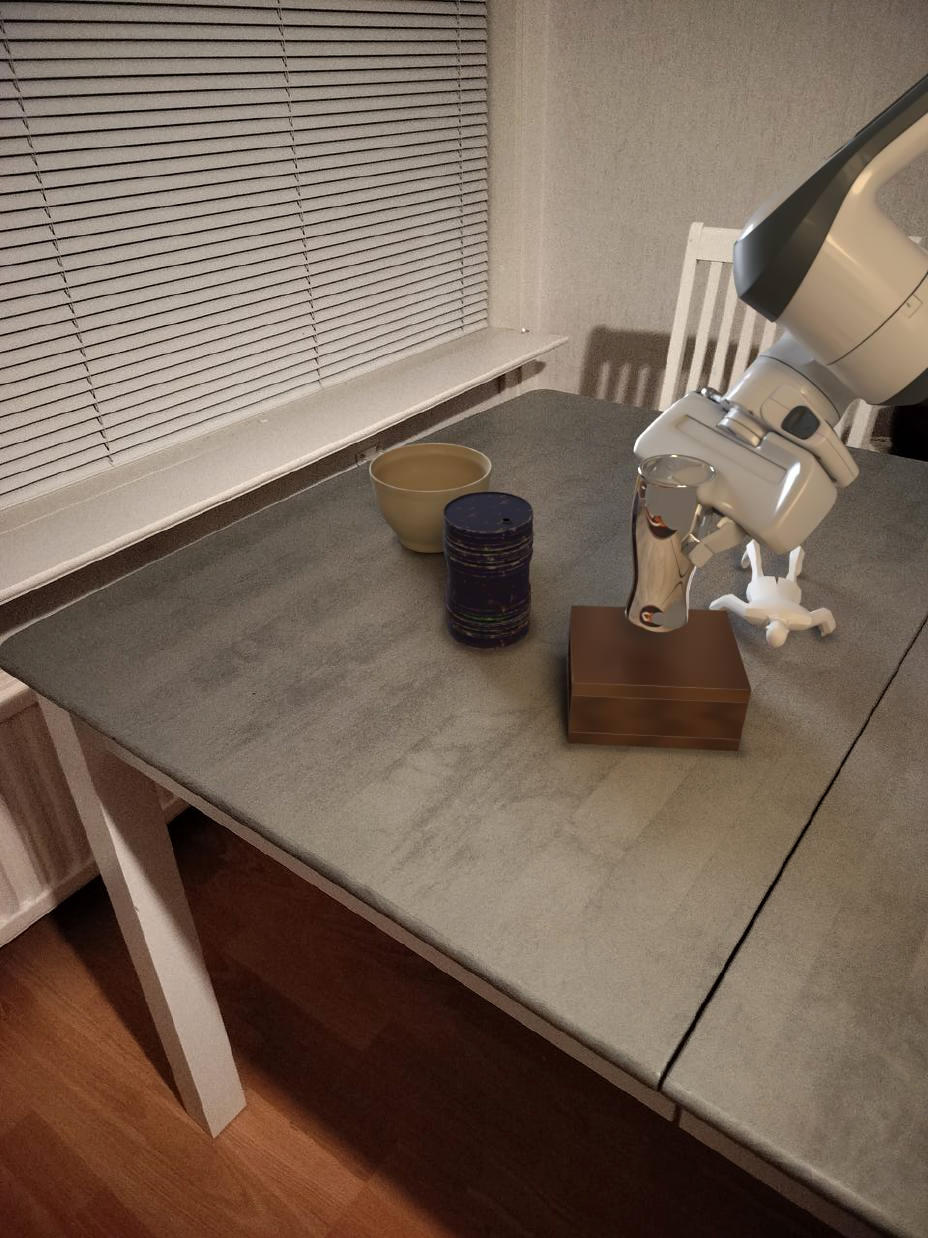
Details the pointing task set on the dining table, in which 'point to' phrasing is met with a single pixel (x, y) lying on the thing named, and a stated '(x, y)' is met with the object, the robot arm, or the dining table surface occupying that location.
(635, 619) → the beer glass
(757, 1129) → the dining table surface
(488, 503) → the dark blue oil drum
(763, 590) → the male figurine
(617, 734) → the wooden keepsake box
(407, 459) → the planter bowl
